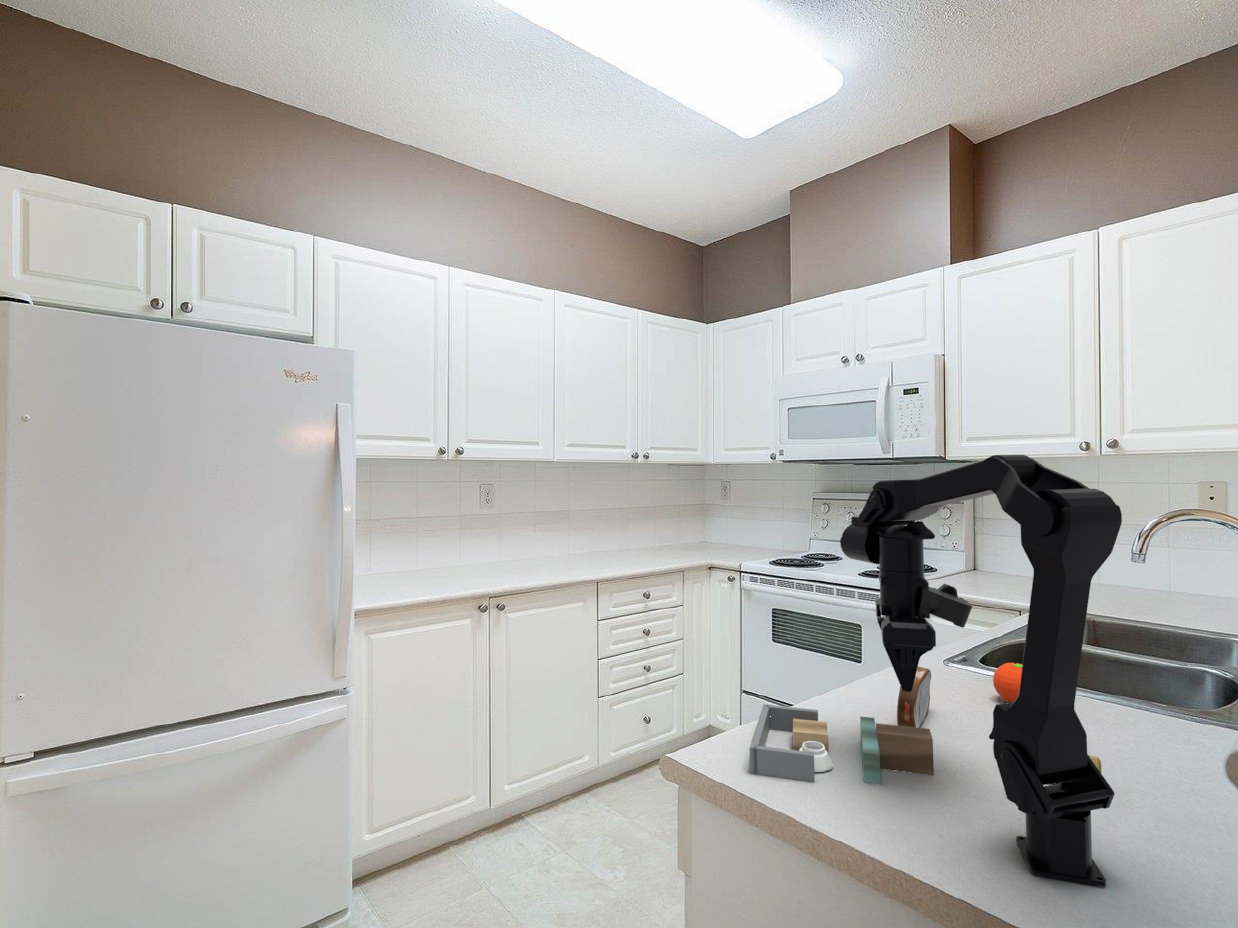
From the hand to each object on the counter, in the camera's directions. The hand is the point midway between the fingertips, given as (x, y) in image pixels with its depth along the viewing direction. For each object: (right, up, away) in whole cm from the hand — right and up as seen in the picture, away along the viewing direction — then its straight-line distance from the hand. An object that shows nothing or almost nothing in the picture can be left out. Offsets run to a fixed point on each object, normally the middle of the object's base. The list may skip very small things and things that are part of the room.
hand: (903, 680), depth 89 cm
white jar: (-12, -13, +1) cm, 18 cm away
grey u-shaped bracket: (-15, -12, +5) cm, 20 cm away
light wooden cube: (-11, -13, +7) cm, 18 cm away
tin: (+9, -12, +15) cm, 21 cm away
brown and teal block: (0, -12, 0) cm, 12 cm away
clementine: (+30, -12, +22) cm, 39 cm away
